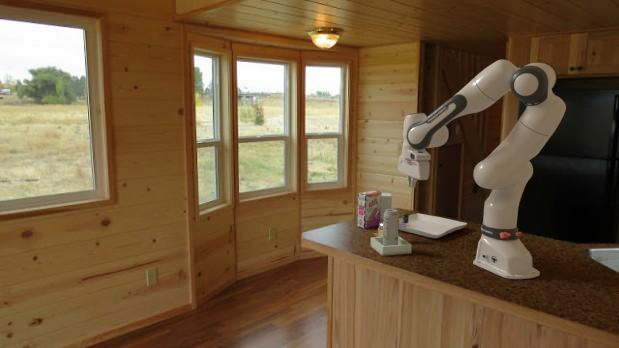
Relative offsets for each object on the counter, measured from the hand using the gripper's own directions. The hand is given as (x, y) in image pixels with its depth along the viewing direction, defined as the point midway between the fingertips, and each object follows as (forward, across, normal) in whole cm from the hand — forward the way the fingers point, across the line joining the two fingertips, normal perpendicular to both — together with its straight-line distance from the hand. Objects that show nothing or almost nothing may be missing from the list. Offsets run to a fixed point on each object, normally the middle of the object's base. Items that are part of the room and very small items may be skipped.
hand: (411, 187), depth 174 cm
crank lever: (+18, -4, -5) cm, 19 cm away
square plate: (+24, -16, +17) cm, 34 cm away
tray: (+24, +6, -11) cm, 27 cm away
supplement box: (+24, -38, +5) cm, 46 cm away
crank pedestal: (+24, -8, -9) cm, 27 cm away
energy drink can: (+23, +5, -11) cm, 26 cm away
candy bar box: (+24, -27, -7) cm, 37 cm away
